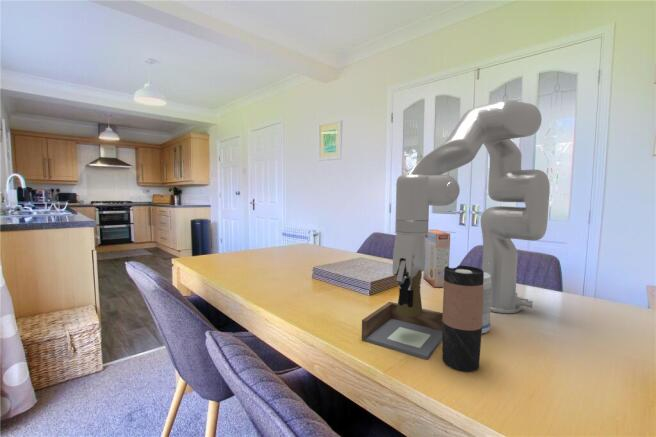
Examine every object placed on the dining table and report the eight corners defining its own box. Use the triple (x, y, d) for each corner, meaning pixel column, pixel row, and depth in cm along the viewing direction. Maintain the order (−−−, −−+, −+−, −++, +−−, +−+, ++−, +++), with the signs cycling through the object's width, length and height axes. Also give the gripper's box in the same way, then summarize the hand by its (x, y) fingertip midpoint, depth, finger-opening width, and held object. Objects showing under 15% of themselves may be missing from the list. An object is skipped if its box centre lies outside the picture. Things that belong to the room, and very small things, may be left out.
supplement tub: (479, 320, 89) (481, 269, 87) (497, 335, 79) (499, 278, 78) (444, 320, 88) (446, 269, 87) (458, 335, 79) (461, 278, 78)
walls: (447, 333, 80) (447, 314, 80) (427, 360, 67) (428, 337, 67) (388, 318, 90) (389, 301, 89) (361, 340, 76) (361, 320, 76)
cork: (421, 308, 78) (422, 264, 77) (423, 317, 72) (425, 270, 71) (396, 306, 79) (397, 263, 78) (396, 315, 73) (397, 269, 73)
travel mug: (477, 377, 61) (482, 275, 60) (437, 365, 65) (440, 270, 64) (482, 359, 68) (486, 267, 66) (445, 350, 72) (448, 263, 70)
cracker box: (449, 288, 119) (451, 233, 118) (433, 287, 119) (435, 233, 118) (437, 278, 133) (438, 229, 132) (422, 278, 133) (424, 229, 132)
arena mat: (447, 333, 80) (447, 329, 80) (427, 360, 67) (427, 355, 67) (388, 318, 90) (389, 315, 89) (361, 340, 76) (361, 336, 76)
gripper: (409, 224, 83) (407, 291, 85) (381, 229, 69) (380, 310, 71) (438, 225, 79) (435, 297, 80) (414, 231, 65) (412, 317, 67)
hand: (409, 302), depth 76 cm, fingers closed on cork, 4 cm apart
